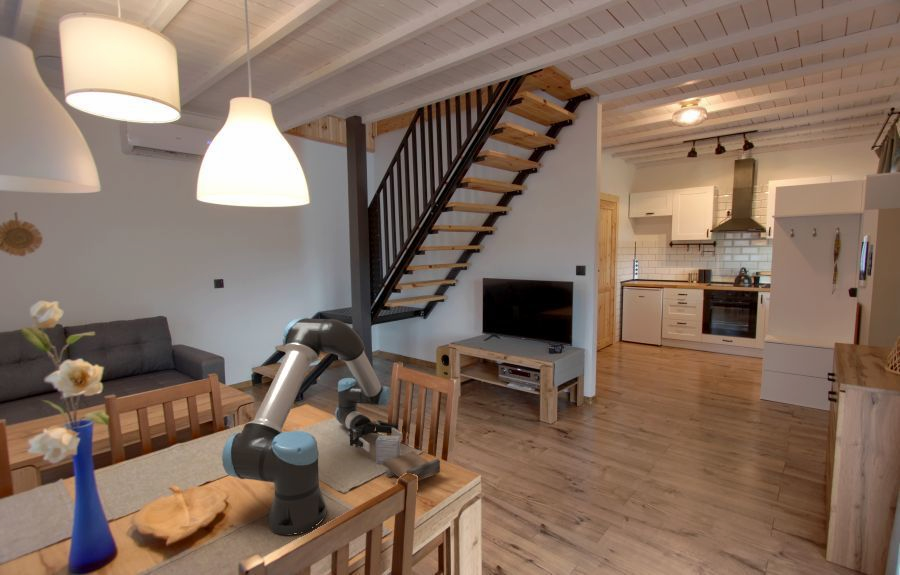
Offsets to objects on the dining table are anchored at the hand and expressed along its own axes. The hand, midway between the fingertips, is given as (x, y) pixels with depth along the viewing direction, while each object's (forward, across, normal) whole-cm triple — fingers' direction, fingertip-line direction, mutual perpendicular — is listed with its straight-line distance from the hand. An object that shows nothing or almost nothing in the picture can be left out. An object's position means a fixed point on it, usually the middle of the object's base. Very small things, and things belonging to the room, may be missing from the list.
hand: (385, 442), depth 153 cm
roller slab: (+16, 0, -6) cm, 17 cm away
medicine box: (+3, +1, -6) cm, 7 cm away
